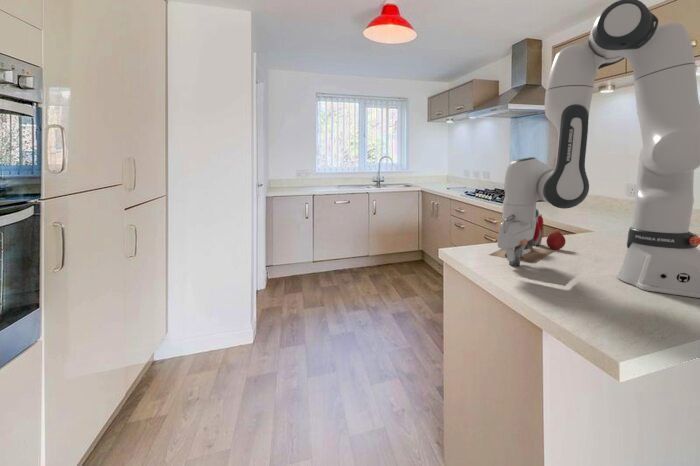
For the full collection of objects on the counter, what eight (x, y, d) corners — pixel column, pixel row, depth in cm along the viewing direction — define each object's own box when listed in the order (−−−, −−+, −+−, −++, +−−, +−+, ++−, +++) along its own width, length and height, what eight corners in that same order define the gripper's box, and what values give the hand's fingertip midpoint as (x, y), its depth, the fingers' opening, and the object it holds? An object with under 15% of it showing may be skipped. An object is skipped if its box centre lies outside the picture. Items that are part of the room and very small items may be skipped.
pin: (527, 267, 106) (530, 239, 104) (520, 272, 102) (523, 242, 100) (508, 264, 110) (510, 236, 108) (500, 268, 106) (502, 239, 104)
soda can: (544, 246, 133) (547, 215, 130) (526, 246, 133) (528, 215, 130) (535, 242, 140) (538, 213, 137) (517, 242, 140) (520, 213, 137)
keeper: (531, 251, 113) (530, 247, 113) (525, 253, 110) (524, 250, 110) (511, 254, 118) (510, 251, 118) (505, 257, 115) (504, 253, 115)
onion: (547, 252, 123) (549, 230, 122) (544, 249, 129) (546, 227, 127) (566, 253, 121) (568, 231, 120) (561, 249, 127) (563, 228, 125)
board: (554, 253, 121) (554, 251, 121) (535, 266, 107) (535, 262, 107) (510, 247, 132) (510, 244, 131) (488, 257, 118) (488, 254, 118)
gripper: (516, 218, 93) (512, 267, 96) (540, 210, 107) (537, 253, 110) (493, 216, 97) (490, 263, 100) (519, 209, 112) (516, 250, 114)
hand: (515, 258), depth 105 cm, fingers closed on pin, 5 cm apart
